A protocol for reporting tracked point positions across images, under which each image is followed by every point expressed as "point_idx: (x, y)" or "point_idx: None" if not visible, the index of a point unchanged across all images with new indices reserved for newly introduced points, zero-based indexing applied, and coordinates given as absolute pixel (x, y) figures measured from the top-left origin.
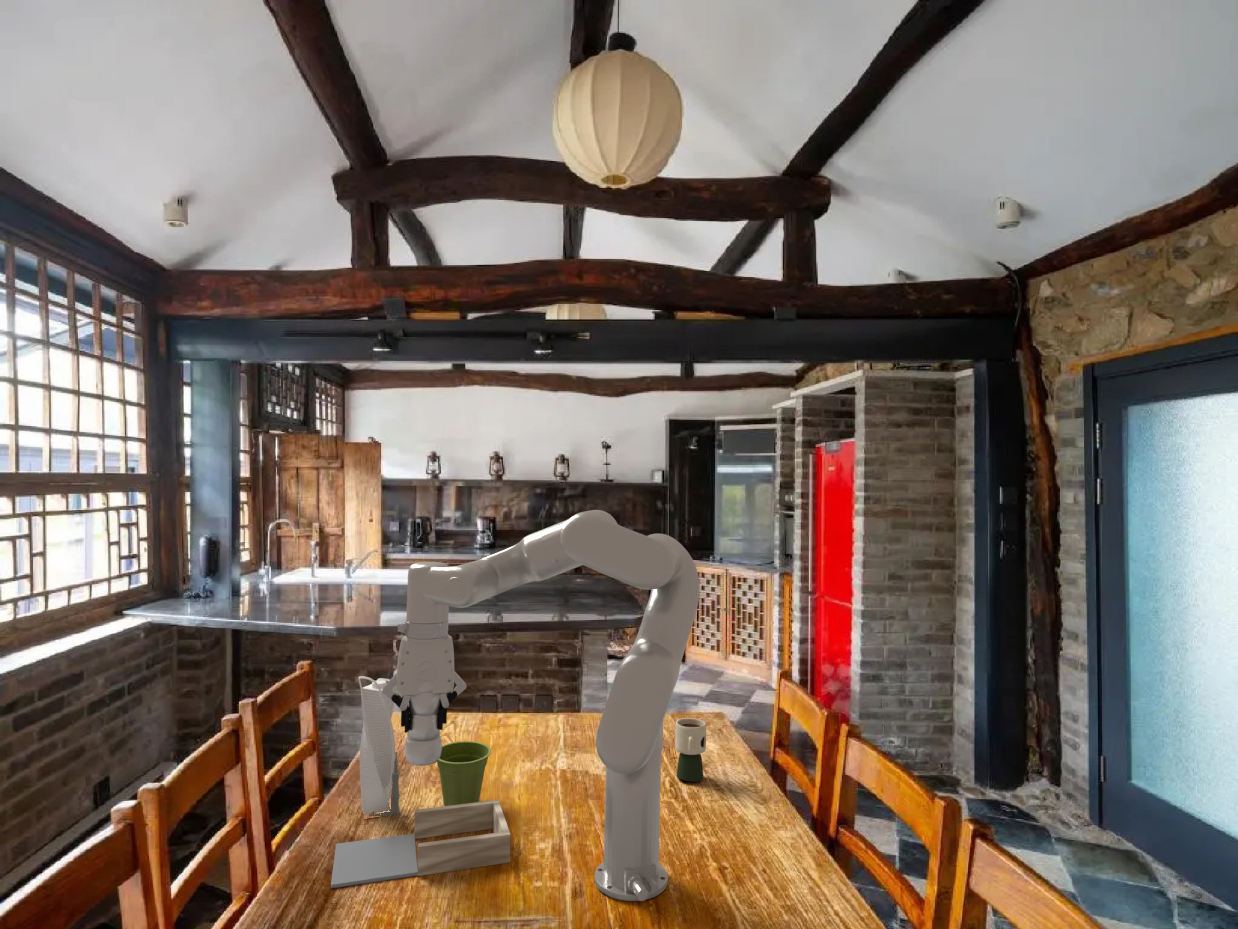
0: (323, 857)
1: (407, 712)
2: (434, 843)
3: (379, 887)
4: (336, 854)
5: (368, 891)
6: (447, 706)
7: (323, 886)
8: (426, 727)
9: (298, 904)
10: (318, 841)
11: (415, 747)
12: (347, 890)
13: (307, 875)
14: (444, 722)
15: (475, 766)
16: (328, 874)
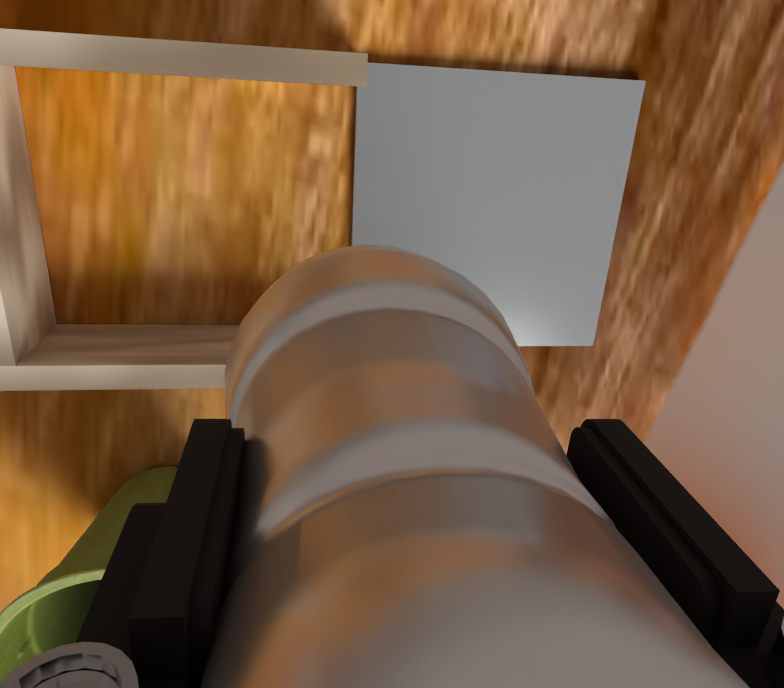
0: (629, 291)
1: (734, 574)
2: (295, 60)
3: (492, 28)
4: (601, 277)
5: (529, 13)
6: (33, 668)
7: (656, 105)
8: (406, 385)
9: (741, 15)
10: (629, 389)
11: (473, 304)
12: (592, 49)
13: (688, 194)
14: (161, 503)
15: (69, 570)
16: (631, 179)
